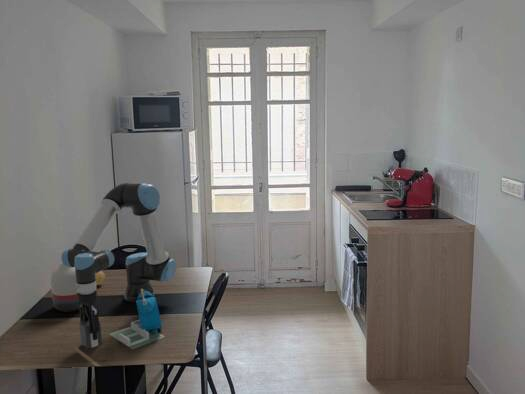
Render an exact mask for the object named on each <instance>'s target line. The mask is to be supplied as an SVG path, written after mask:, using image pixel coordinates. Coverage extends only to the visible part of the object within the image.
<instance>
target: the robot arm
mask: <svg viewBox="0 0 525 394" xmlns="http://www.w3.org/2000/svg"><path fill="white" fill-rule="evenodd" d="M160 199H161V196H160V192H159V190H158V189H157V187H156V186H154V185H153V184H148V183H133V182H131V183H128V182H125V183H120V184H117V185H116V186H115V187H113V188H111V189H110V190H109V191H108V192H107V193H106V194H105V196H104V197H103V198H102V200H101V201H100V207H99V208H98V209H97V211H96V213H95V214H94V215H93V217H92V218H91V220H90V221H89V223H88V225H87V226H86V228H85V229H84V231H83V232H82V233H81V235H80V236H79V238H78V239H77V241H76V242H75V244H74V245H73V246H72V248H66V249H65V250H64V251H62V253H61V256H60V257H61V258H60V259H61V262H62V263H63V264H64V265H65V266H69V267H75V274H76V284H77V286H76V288H77V292H78V293H77V296H78V302H79V303H78V304H79V310H78V311H79V318H80V322H79V323H81V322H85V321H88V320H89V324H90V329H91V332H89V333H90V339H91V349H92V348H95V347H99V345H98V337H97V332H99V331H100V327H99V322H100V318H99V317H100V315H99V311H100V310H99V308H96V305H95V302H96V301H97V300H98V292H97V286H96V279H95V274H96V273H98V272H100V271H102V272H103V270H107V269H109V268H110V267H111V266H112V265H114V263H115V255H114V253H113V252H112V251H111V250H109V249H103V250H101V251H94V250H93V249H94V248H95V247H96V245H97V243H98V242H99V240H100V239H101V237H102V235H103V234H104V232H105V231H106V229H107V228H108V226H109V225H110V223H111V222H112V220H113V218H114V217H115V216H116V214H119V213H120V211H121V210H122V209H124V208H129V209H131V211H132V214H133V215H134V216H136V217H137V220H138V224H139V227H140V231H141V234H142V239H143V243H144V246H145V250H146V251H145V252H137V253H133V254H130V255H128V256H127V257H126V258H125V271H126V272H125V274H126V287H125V291H124V300H125V301H126V302H129V303H137V302H136V301H137V300H138V295H139V294H140V293H141V289H143V290H145V291H148V292H150V293H151V294H152V297H155V292H154V291H155V290H154V289H153V285H152V283H151V281H153V282H154V281H155V282H161V283H164V282H167V283H168V282H170V281H172V280H173V278H174V276H175V274H176V272H177V261H176V260H175V259H173V258H171V257H170V253H169V252H168V251H166V250H165V245H164V243H163V238H162V233H161V230H160V227H159V222H158V218H157V214H156V211H157V210H158V207H159V205H160Z"/></svg>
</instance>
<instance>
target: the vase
mask: <svg viewBox="0 0 525 394" xmlns="http://www.w3.org/2000/svg"><path fill="white" fill-rule="evenodd" d="M76 286H77V284H76V274H75V267H69V266H65V265H64V264H63V263H62V261H60V264H59V266H57V267H56V268H55V269H54V270H53V271H52V273H51V276H50V288H51V300H52V305H53V307H54V308H55V309H56V310H57V311H59V312H63V313H64V312H66V313H67V312H75V311H80V310H79V304H78V303H79V302H78V296H77V293H78V292H77V288H76Z"/></svg>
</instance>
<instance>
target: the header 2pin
mask: <svg viewBox="0 0 525 394" xmlns="http://www.w3.org/2000/svg"><path fill="white" fill-rule="evenodd" d="M130 327H131V329H132V330H134V331H136V332H138V331H137V327H140V328H142V326H141V322H140V318H139V319H137V320H134V321H131V322H130Z"/></svg>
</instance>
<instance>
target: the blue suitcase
mask: <svg viewBox="0 0 525 394" xmlns="http://www.w3.org/2000/svg"><path fill="white" fill-rule="evenodd" d="M135 303H136V308H137V313H138V318H139V319H140V322H141V326H142V330H144V329H145V331H147V332H149V331H151V330H154V331H155V334H156V335H157V332H158V329H160V328H161V327H163V325H162V324H163V323H162V319H161V314H160V310H159V306H158V302H157V298H156V297H155V296H154V297H152V294H151V293H150V292H148V291H145V290H143V289H141V293H140V294H139V295H138V300H137V301H136V302H135Z"/></svg>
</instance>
